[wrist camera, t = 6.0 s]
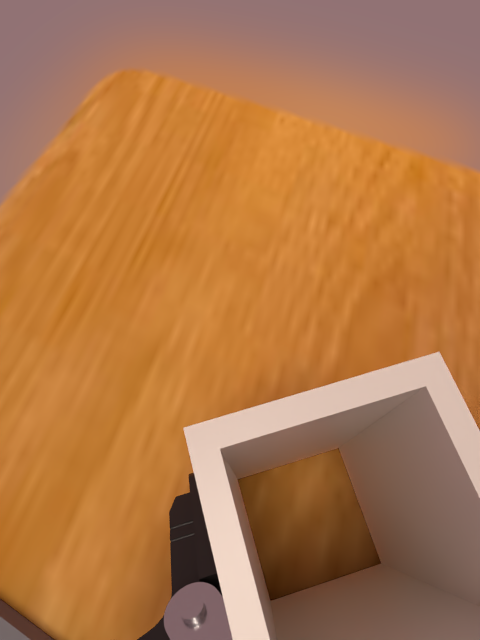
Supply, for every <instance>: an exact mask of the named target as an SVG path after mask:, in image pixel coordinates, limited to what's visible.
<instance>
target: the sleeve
mask: <svg viewBox="0 0 480 640" xmlns="http://www.w3.org/2000/svg"><path fill="white" fill-rule="evenodd" d="M184 433H185V437H186V441H187V445H188V450H189V454H190V458H191V463H192V467H193V471H194V475H195V480H196V484H197V488H198V493H199V497H200V501H201V506H202V510H203V514H204V518H205V523H206V527H207V531H208V536H209V540H210V544H211V548H212V553H213V557H214V561H215V566H216V570H217V574H218V579H219V583H220V587H221V591H222V596H223V600H224V604H225V609H226V613H227V617H228V621H229V626H230V630H231V634H232V639H233V640H480V431H479V429H478V427H477V425H476V423H475V421H474V419H473V417H472V415H471V413H470V411H469V409H468V407H467V405H466V403H465V401H464V399H463V397H462V395H461V393H460V391H459V389H458V387H457V385H456V384H455V382H454V380H453V378H452V376H451V374H450V372H449V370H448V368H447V366H446V364H445V362H444V360H443V358H442V356H441V354H440V352H437V353H433V354H430V355H427V356H423V357H420V358H417V359H413V360H410V361H407V362H403V363H400V364H396V365H393V366H390V367H386V368H383V369H380V370H376V371H373V372H370V373H366V374H363V375H359V376H356V377H353V378H349V379H346V380H343V381H339V382H336V383H332V384H329V385H326V386H322V387H319V388H316V389H312V390H309V391H306V392H302V393H299V394H295V395H292V396H289V397H285V398H282V399H279V400H275V401H272V402H269V403H265V404H262V405H258V406H255V407H252V408H248V409H245V410H242V411H238V412H235V413H232V414H228V415H225V416H221V417H218V418H215V419H211V420H208V421H205V422H201V423H198V424H194V425H191V426H188V427H184ZM337 448H339V451H340V454H341V456H342V459H343V462H344V464H345V467H346V470H347V473H348V475H349V478H350V481H351V483H352V486H353V489H354V491H355V494H356V497H357V499H358V502H359V505H360V508H361V510H362V513H363V516H364V518H365V521H366V524H367V526H368V529H369V532H370V535H371V537H372V540H373V543H374V545H375V548H376V551H377V553H378V556H379V559H380V561H381V564H378V565H375V566H372V567H369V568H366V569H363V570H360V571H357V572H354V573H352V574H349V575H346V576H343V577H340V578H337V579H334V580H331V581H328V582H325V583H322V584H319V585H316V586H313V587H310V588H307V589H304V590H301V591H298V592H295V593H292V594H290V595H287V596H284V597H281V598H278V599H275V600H272V601H270V597H269V594H268V590H267V586H266V583H265V579H264V575H263V571H262V568H261V564H260V560H259V557H258V553H257V549H256V546H255V542H254V538H253V535H252V531H251V527H250V523H249V520H248V516H247V512H246V509H245V505H244V501H243V498H242V494H241V490H240V486H239V483H238V479H241V478H244V477H247V476H250V475H253V474H257V473H260V472H263V471H266V470H269V469H273V468H276V467H279V466H282V465H286V464H289V463H292V462H295V461H298V460H302V459H305V458H308V457H311V456H314V455H318V454H321V453H324V452H327V451H331V450H334V449H337Z"/></svg>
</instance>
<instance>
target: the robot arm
mask: <svg viewBox="0 0 480 640" xmlns="http://www.w3.org/2000/svg"><path fill="white" fill-rule="evenodd" d="M189 484H190V493H187V494H183V495H180V496H177V497H176V498H175V500H174V502H173V505H172V507H171V510H170V512H169V515H170V541H171V543H170V545H171V576H172V596H171V600H170V601H169V603H168V605H167V607H166V610H165V614H164V616H163V618H162V619H161V620H160V621H159V623H158V624H157V625H156V626H155V627H154V628H152V629H151V630H150V631H149V632H147V633H146V634H145V635H143V636H142V637H140V638H139V639H137V640H233V639H232V634H231V630H230V626H229V621H228V617H227V613H226V609H225V604H224V600H223V596H222V591H221V587H220V583H219V579H218V574H217V570H216V566H215V561H214V557H213V553H212V548H211V544H210V540H209V536H208V531H207V527H206V523H205V518H204V514H203V510H202V506H201V501H200V497H199V493H198V488H197V484H196V480H195V475H194V473H191V474H189Z"/></svg>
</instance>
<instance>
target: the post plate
mask: <svg viewBox="0 0 480 640" xmlns="http://www.w3.org/2000/svg"><path fill="white" fill-rule="evenodd" d="M0 640H54V639H52V638H51V637H50V636H48V635H47V634H46V633H44V632H43V631H42V630H40V629H39V628H38V627H36V626H35V625H34V624H32V623H31V622H30V621H28V620H27V619H26V618H24V617H23V616H22V615H21V614H19V613H18V612H17V611H15V610H14V609H13V608H11V607H10V606H9V605H7V604H6V603H5V602H3V601H2V600H1V599H0Z"/></svg>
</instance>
